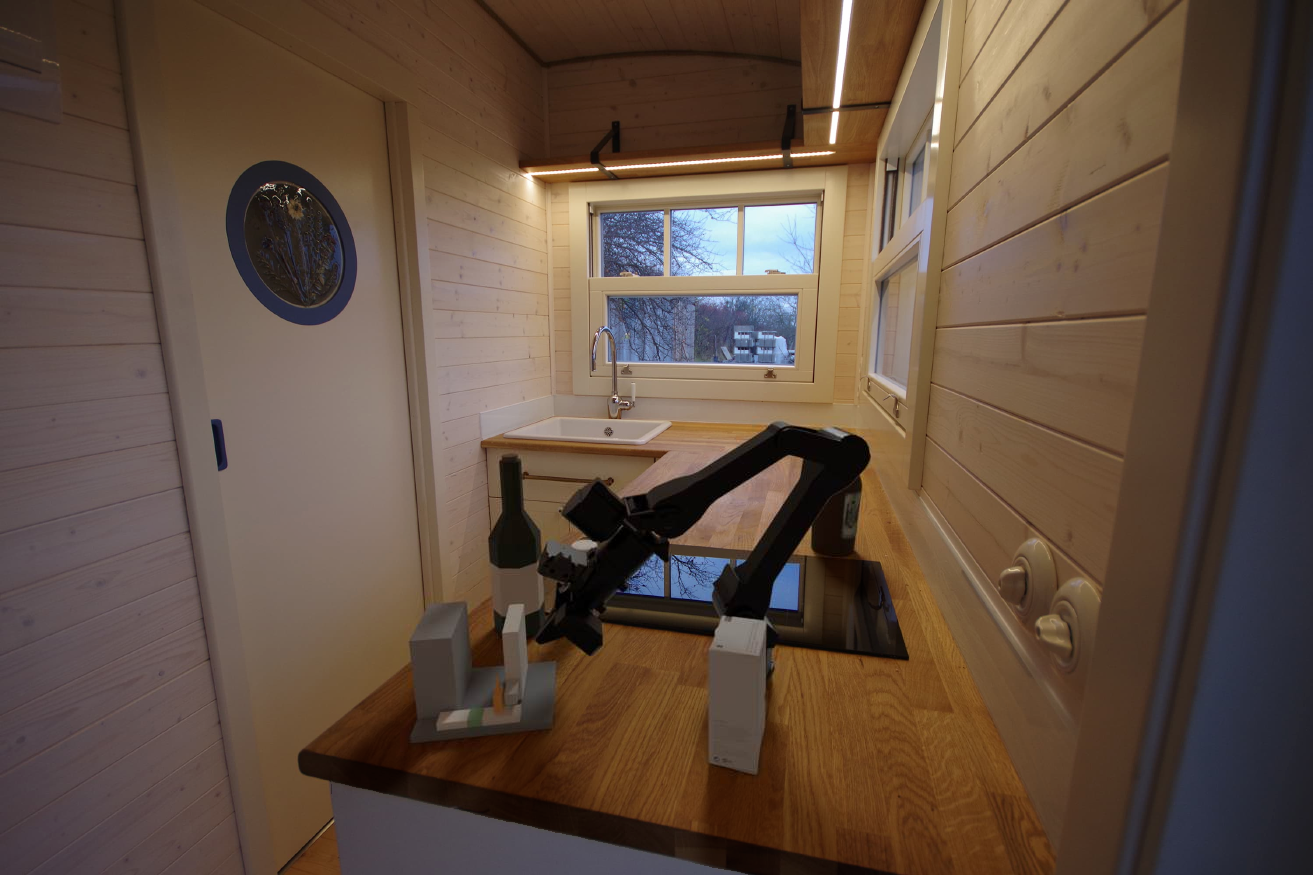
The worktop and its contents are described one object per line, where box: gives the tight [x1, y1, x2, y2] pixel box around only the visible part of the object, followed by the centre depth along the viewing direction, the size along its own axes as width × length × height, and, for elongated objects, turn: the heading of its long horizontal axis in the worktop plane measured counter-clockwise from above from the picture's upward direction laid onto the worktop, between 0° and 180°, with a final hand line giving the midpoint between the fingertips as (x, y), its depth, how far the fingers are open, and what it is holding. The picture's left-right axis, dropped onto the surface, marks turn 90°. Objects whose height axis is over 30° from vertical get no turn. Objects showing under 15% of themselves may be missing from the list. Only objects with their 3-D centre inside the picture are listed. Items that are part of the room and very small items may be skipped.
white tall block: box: [501, 604, 528, 705], centre depth 71 cm, size 2×10×10 cm, turn 8°
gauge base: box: [408, 600, 558, 744], centre depth 70 cm, size 17×12×12 cm
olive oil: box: [810, 474, 863, 557], centre depth 118 cm, size 11×11×25 cm
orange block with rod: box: [493, 676, 504, 713], centre depth 66 cm, size 1×2×4 cm, turn 8°
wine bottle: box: [487, 452, 546, 640], centre depth 86 cm, size 8×8×30 cm
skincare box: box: [707, 616, 767, 776], centre depth 63 cm, size 8×6×15 cm
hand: (537, 641), depth 72 cm, fingers closed
